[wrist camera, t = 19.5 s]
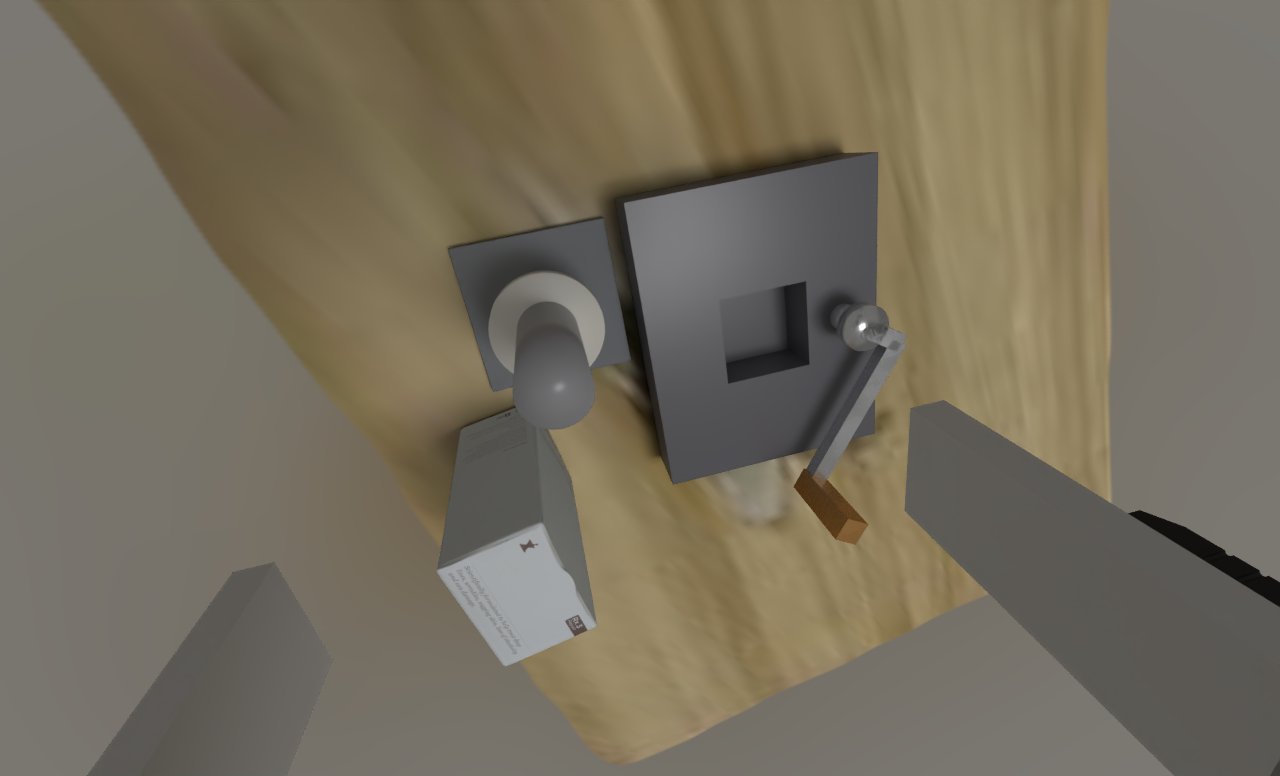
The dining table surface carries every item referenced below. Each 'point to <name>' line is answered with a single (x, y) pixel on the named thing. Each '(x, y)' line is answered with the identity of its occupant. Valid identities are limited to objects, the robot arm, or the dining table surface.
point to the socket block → (751, 307)
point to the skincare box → (515, 539)
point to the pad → (547, 249)
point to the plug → (548, 345)
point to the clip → (850, 417)
